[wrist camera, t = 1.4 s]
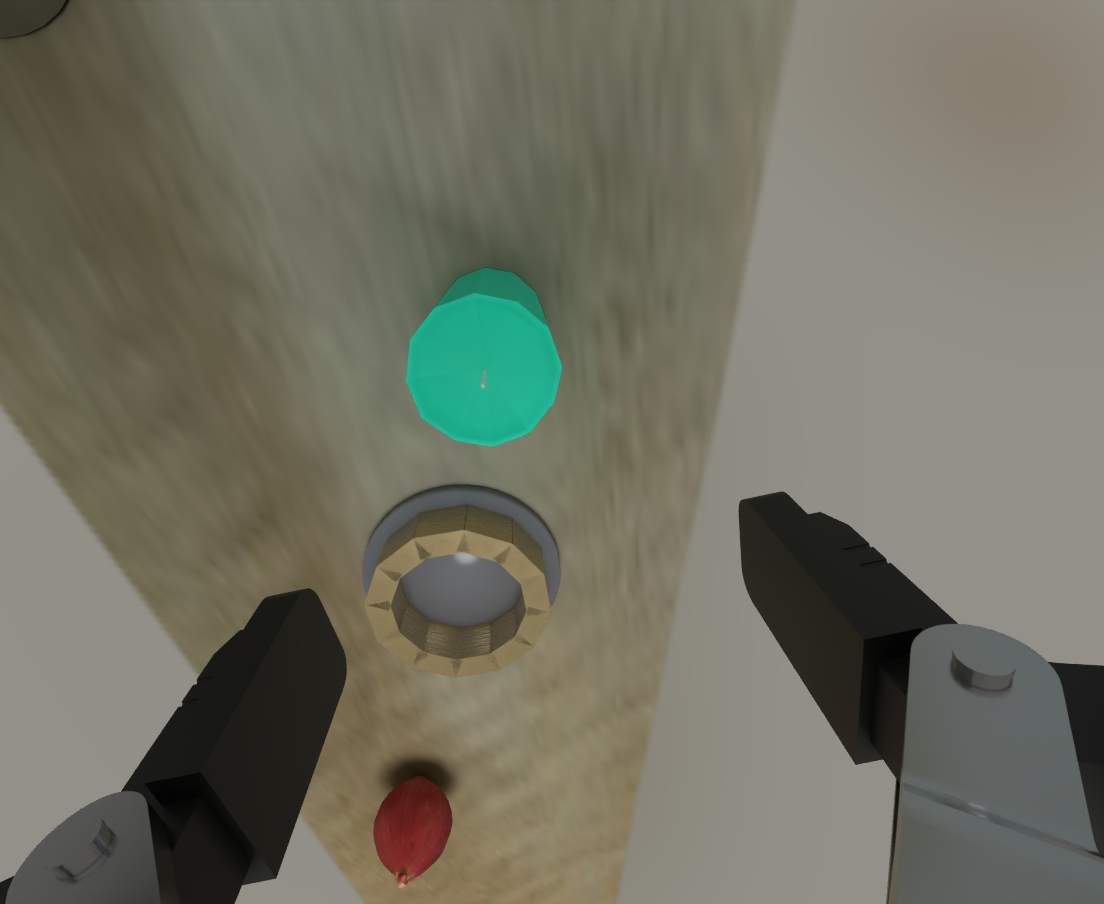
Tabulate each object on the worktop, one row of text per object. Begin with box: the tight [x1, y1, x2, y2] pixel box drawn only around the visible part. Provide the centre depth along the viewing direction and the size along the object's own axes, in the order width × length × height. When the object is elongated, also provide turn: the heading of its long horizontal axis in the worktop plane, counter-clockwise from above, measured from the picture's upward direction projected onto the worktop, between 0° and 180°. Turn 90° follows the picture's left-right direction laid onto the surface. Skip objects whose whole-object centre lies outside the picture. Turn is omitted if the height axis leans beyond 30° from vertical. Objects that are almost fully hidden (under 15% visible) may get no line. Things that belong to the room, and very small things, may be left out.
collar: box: [364, 504, 551, 677], centre depth 34 cm, size 11×11×3 cm
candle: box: [406, 267, 562, 447], centre depth 24 cm, size 6×6×12 cm
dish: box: [363, 485, 560, 627], centre depth 36 cm, size 13×13×1 cm
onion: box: [373, 775, 452, 888], centre depth 41 cm, size 6×6×8 cm
